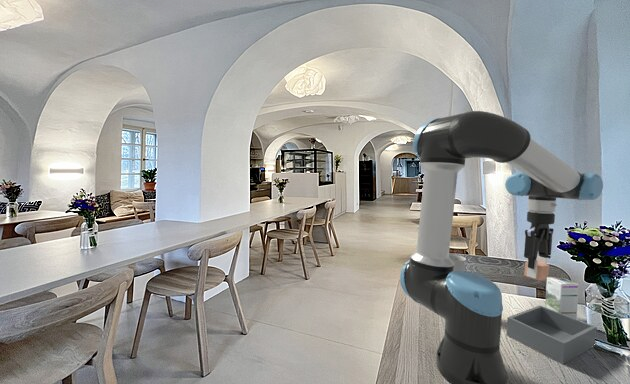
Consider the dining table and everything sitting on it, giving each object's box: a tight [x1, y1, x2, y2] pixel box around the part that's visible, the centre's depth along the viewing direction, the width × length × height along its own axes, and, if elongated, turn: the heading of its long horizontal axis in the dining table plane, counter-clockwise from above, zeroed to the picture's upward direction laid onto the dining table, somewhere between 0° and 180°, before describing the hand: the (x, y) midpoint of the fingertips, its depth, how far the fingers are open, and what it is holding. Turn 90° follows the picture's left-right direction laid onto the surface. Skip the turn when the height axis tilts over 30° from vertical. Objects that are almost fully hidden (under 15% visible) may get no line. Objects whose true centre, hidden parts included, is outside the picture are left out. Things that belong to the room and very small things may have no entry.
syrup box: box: [544, 276, 580, 320], centre depth 87 cm, size 6×6×14 cm
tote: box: [506, 305, 598, 365], centre depth 78 cm, size 18×14×6 cm
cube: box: [523, 261, 550, 282], centre depth 96 cm, size 5×5×5 cm
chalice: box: [449, 253, 467, 271], centre depth 99 cm, size 7×7×18 cm
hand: (536, 275), depth 96 cm, fingers closed on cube, 5 cm apart
